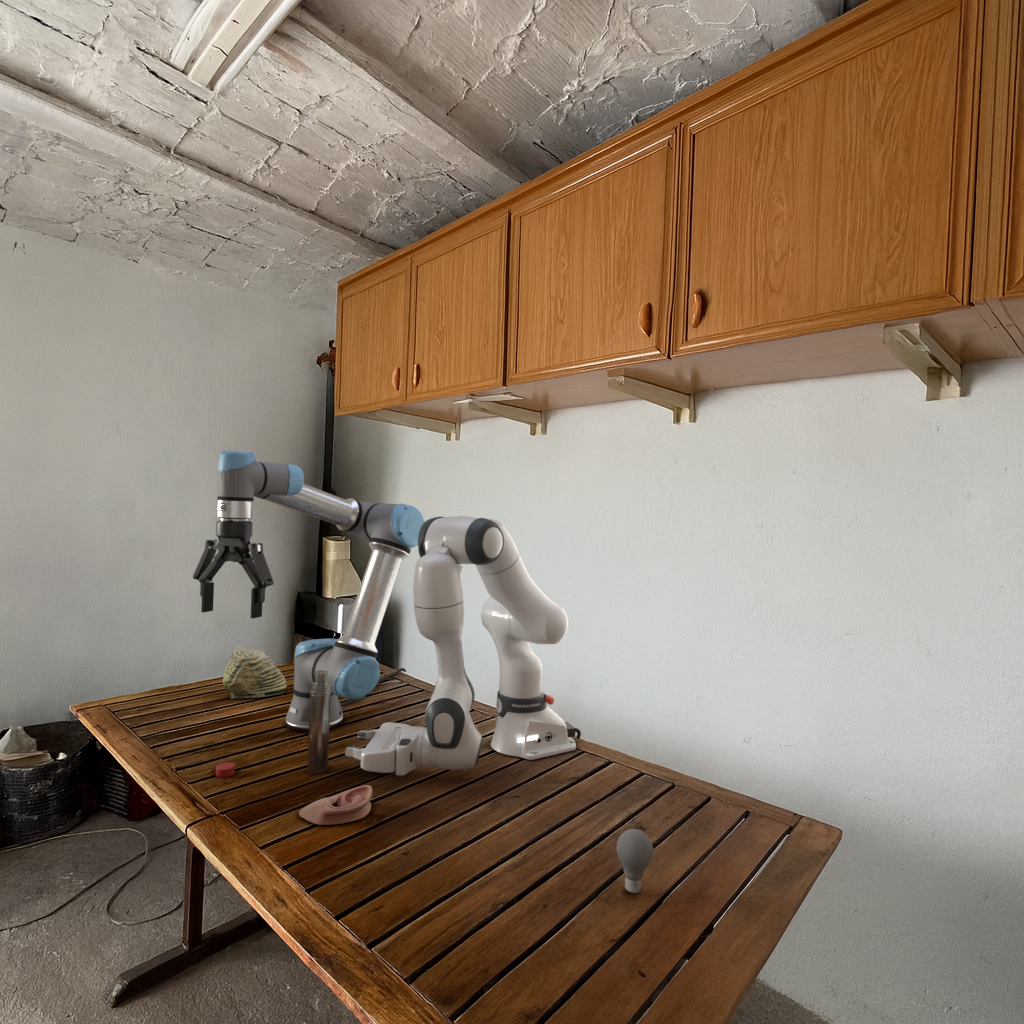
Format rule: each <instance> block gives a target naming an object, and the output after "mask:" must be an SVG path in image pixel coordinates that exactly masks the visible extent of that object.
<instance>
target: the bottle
mask: <svg viewBox="0 0 1024 1024" xmlns="http://www.w3.org/2000/svg"><path fill="white" fill-rule="evenodd" d="M327 675H328V672H327V671H325V670H320V671H316V672H315V682H314V684H313V687H312V689H311V692H310V713H309V732H308V738H307V739H308V745H307V766H306V767H307V769H306V771H307V773H309V774H311V775H320V774H324V773H326V772H327V771H329V750H330V748H329V747H330V729H329V727H330V701H331V691H330V687H329V684H328V681H327Z"/></svg>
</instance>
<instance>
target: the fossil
mask: <svg viewBox="0 0 1024 1024" xmlns="http://www.w3.org/2000/svg"><path fill="white" fill-rule="evenodd" d="M222 676H223V677H222V685H223V687H224V688H225V690H226V691H228V693H229V698H230V699H250V698H264V697H271V696H275V695H281V694H284V693H285V691H286V689H287V687H288V686H287V680H286V678H285V676H284V674H283V673H282V672H281V669H279V668H278V667H277V665H276V663H275V662H274V660H273V659H272V658H271V657H270V656H269V655H268V654H267V653H266V652H265V650H264V649H263V648H260V647H258V648H251V647H247V646H246V647H245V646H238V647H237V648H236V649H235V650H233V651H232V653H231V656H230V657H229V659H228V660H227V663H226V666H225V668H224V671H223V675H222Z"/></svg>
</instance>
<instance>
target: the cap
mask: <svg viewBox="0 0 1024 1024" xmlns="http://www.w3.org/2000/svg"><path fill="white" fill-rule="evenodd" d="M235 773H236V763H234V762H230V761H229V762H221V763H219V764H217V765H216V766H215V776H216V777H217V778H229V777H231V776H234V775H235Z"/></svg>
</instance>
